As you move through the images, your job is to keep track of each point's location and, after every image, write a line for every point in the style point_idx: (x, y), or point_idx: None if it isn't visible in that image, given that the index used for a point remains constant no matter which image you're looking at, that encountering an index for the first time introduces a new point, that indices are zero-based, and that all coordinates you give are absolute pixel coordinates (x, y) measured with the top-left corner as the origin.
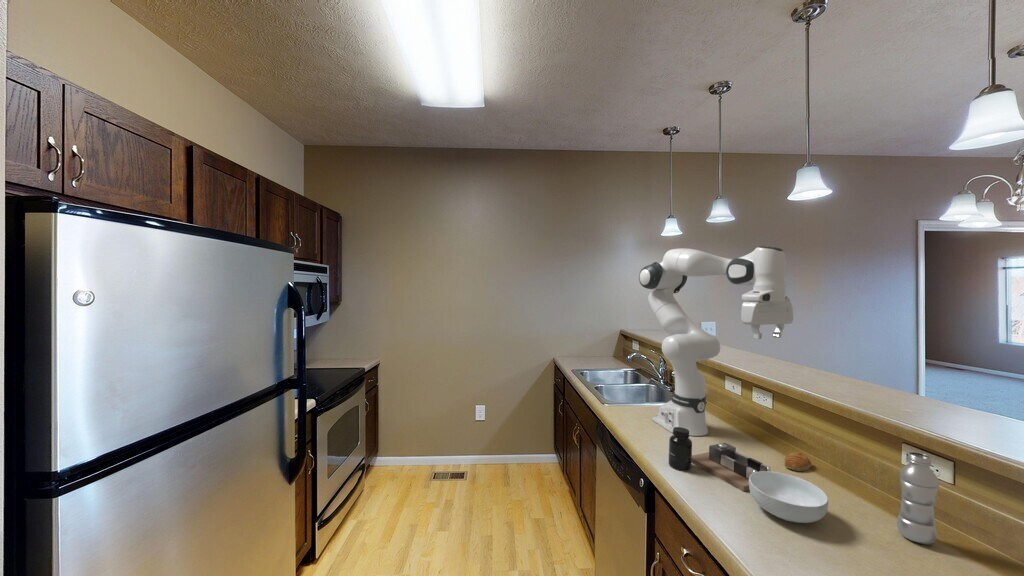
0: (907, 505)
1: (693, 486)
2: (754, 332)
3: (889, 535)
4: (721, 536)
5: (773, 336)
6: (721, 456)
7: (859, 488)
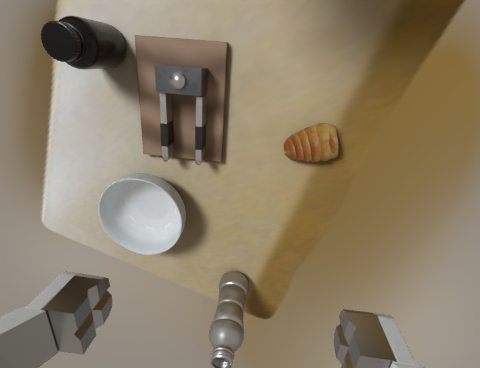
0: (218, 302)
1: (85, 109)
2: (17, 322)
3: (218, 265)
4: (48, 193)
5: (343, 313)
6: (160, 95)
7: (314, 218)
